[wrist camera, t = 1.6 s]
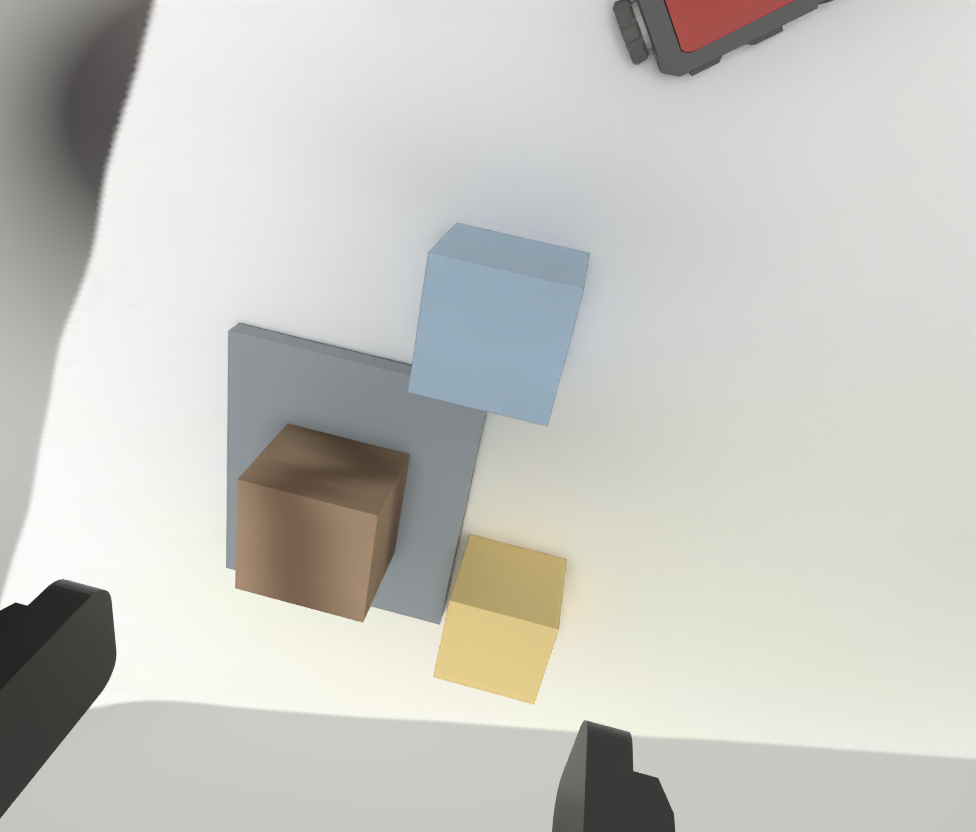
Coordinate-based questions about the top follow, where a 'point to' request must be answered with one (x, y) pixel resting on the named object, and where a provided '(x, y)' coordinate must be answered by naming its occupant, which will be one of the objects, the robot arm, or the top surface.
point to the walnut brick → (319, 520)
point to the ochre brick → (501, 619)
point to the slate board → (366, 418)
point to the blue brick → (496, 322)
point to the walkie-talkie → (701, 28)
